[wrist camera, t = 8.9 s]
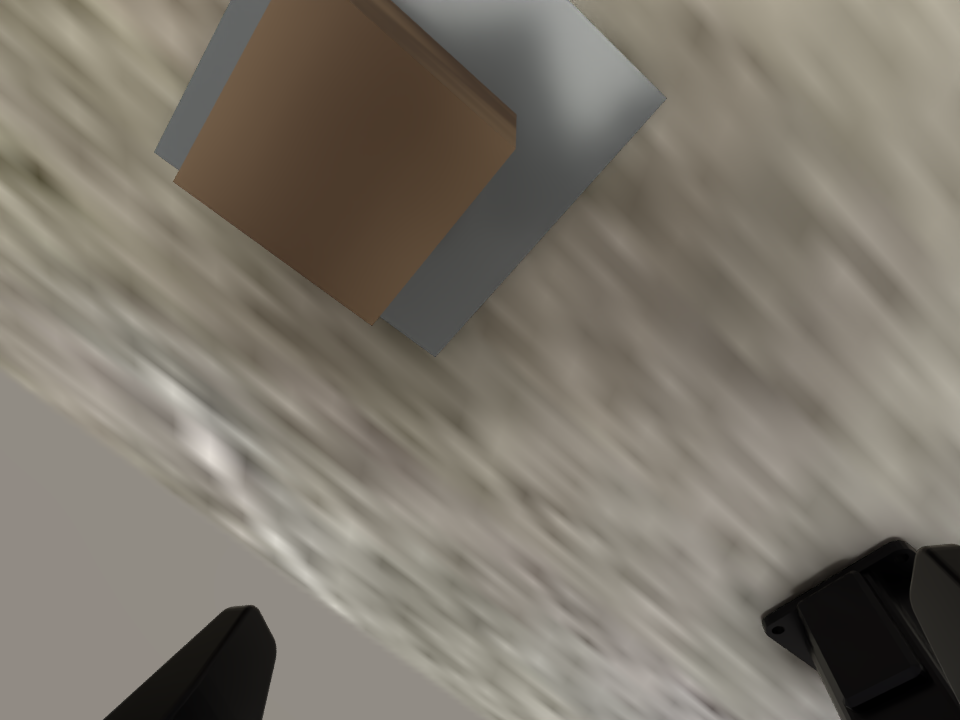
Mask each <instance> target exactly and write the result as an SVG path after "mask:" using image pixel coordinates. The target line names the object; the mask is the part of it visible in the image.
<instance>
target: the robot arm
mask: <svg viewBox="0 0 960 720" xmlns="http://www.w3.org/2000/svg"><path fill="white" fill-rule="evenodd" d="M762 626H763V628H764V630H765V633H766V634H767V635H768V636H769V637H770V638H771V639H773V640H774V641H776V642H777V643H779V644H780V645H781V646H783V647H784V648H786V649H787V650H788V651H790V652H791V653H793V654H794V655H796V656H797V657H798V658H800V659H801V660H803V661H804V662H806V663H807V664H808V665H810V666H811V667H813V668H814V669H815V670H817V671H818V673H819V675H820V677H821V679H822V681H823V683H824V685H825V687H826V689H827V691H828V694H829V696H830V698H831V700H832V702H833V704H834V706H835V708H836V710H837V712H838V714H839V716H840V719H841V720H960V546H959V545H955V544H944V545H933V546H924V547H921V548H920V549H919V550H918V551H916V550H915V549H914V548H913V547H911V546H910V545H909V544H908V543H906V542H904V541H893V542H890V543H888V544H886V545H885V546H883V547H881V548H880V549H878V550H876V551H875V552H873V553H871V554H870V555H868V556H866V557H865V558H863V559H861V560H860V561H858V562H856V563H855V564H853V565H851V566H850V567H848V568H846V569H845V570H843V571H841V572H840V573H838V574H836V575H835V576H833V577H831V578H830V579H828V580H826V581H825V582H823V583H821V584H819V585H818V586H816V587H814V588H813V589H811V590H809V591H808V592H806V593H804V594H803V595H801V596H799V597H798V598H796V599H794V600H793V601H791V602H789V603H788V604H786V605H784V606H783V607H781V608H779V609H778V610H776V611H774V612H773V613H771V614H769V615H768V616H766V617H765V618H764V619H763V621H762ZM275 660H276V643H275V640H274V637H273V635H272V634H271V632H270V630H269V628H268V626H267V624H266V622H265V620H264V618H263V616H262V615H261V613H260V611H259V609H258V608H257V607H255V606H253V605H245V606H234V607H229V608H227V609H225V610H224V611H223V612H221V613H220V614H219V615H218V616H217V617H216V618H215V619H213V620H212V621H211V622H210V623H209V624H208V625H207V626H206V627H205V628H204V629H202V631H200V632H199V633H198V634H197V635H196V636H195V637H194V638H193V639H191V640H190V641H189V642H188V643H187V644H186V645H185V646H184V647H183V648H182V649H180V650H179V651H178V652H177V653H176V654H175V655H174V656H173V657H172V658H170V660H168V661H167V662H166V663H165V664H164V665H163V666H162V667H161V668H159V669H158V670H157V672H155V673H154V674H153V675H152V676H151V677H150V678H149V679H147V680H146V681H145V682H144V683H143V684H142V685H141V686H140V687H139V688H137V689H136V690H135V691H134V692H133V693H132V694H131V695H130V696H129V697H127V698H126V699H125V700H124V701H123V702H122V703H121V704H120V705H119V706H118V707H116V708H115V709H114V710H113V711H112V712H111V713H110V714H109V715H108V716H107V717H105V718H104V719H103V720H262V718H263V714H264V709H265V705H266V700H267V696H268V691H269V686H270V682H271V678H272V673H273V669H274V664H275Z"/></svg>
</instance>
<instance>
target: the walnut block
mask: <svg viewBox="0 0 960 720" xmlns="http://www.w3.org/2000/svg"><path fill="white" fill-rule="evenodd" d="M516 119H517V114H515V113H514V112H513V111H512V110H511V109H510V108H509V107H508V106H507V105H506V104H504V103H503V102H502V101H501V100H500V99H499V98H498V97H497V96H496V95H495V94H493V93H492V92H491V91H490V90H489V89H488V88H487V87H486V86H485V85H484V84H482V83H481V82H480V81H479V80H478V79H477V78H476V77H475V76H474V75H473V74H471V73H470V72H469V71H468V70H467V69H466V68H465V67H464V66H463V65H462V64H460V63H459V62H458V61H457V60H456V59H455V58H454V57H453V56H452V55H451V54H449V53H448V52H447V51H446V50H445V49H444V48H443V47H442V46H441V45H440V44H439V43H437V42H436V41H435V40H434V39H433V38H432V37H431V36H430V35H429V34H428V33H426V32H425V31H424V30H423V29H422V28H421V27H420V26H419V25H418V24H417V23H415V22H414V21H413V20H412V19H411V18H410V17H409V16H408V15H407V14H406V13H404V12H403V11H402V10H401V9H400V8H399V7H398V6H397V5H396V4H395V3H393V2H392V1H391V0H271V1H270V3H269V5H268V7H267V9H266V10H265V12H264V14H263V16H262V18H261V20H260V21H259V23H258V25H257V27H256V29H255V31H254V33H253V34H252V36H251V38H250V40H249V42H248V44H247V46H246V47H245V49H244V51H243V53H242V55H241V57H240V59H239V60H238V62H237V64H236V66H235V68H234V70H233V72H232V73H231V75H230V77H229V79H228V81H227V83H226V84H225V86H224V88H223V90H222V92H221V94H220V96H219V97H218V99H217V101H216V103H215V105H214V107H213V109H212V110H211V112H210V114H209V116H208V118H207V120H206V122H205V123H204V125H203V127H202V129H201V131H200V133H199V134H198V136H197V138H196V140H195V142H194V144H193V146H192V147H191V149H190V151H189V153H188V155H187V157H186V159H185V160H184V162H183V164H182V166H181V168H180V170H179V172H178V173H177V175H176V177H175V179H174V181H173V182H174V183H176V184H177V185H178V186H180V187H181V188H182V189H184V190H185V191H187V192H188V193H189V194H191V195H192V196H193V197H195V198H196V199H198V200H199V201H200V202H202V203H203V204H205V205H206V206H207V207H209V208H210V209H211V210H213V211H214V212H216V213H217V214H218V215H220V216H221V217H222V218H224V219H225V220H227V221H228V222H229V223H231V224H232V225H233V226H235V227H236V228H238V229H239V230H240V231H242V232H243V233H245V234H246V235H247V236H249V237H250V238H251V239H253V240H254V241H256V242H257V243H258V244H260V245H261V246H262V247H264V248H265V249H267V250H268V251H269V252H271V253H272V254H273V255H275V256H276V257H278V258H279V259H280V260H282V261H283V262H284V263H286V264H287V265H289V266H290V267H291V268H293V269H294V270H296V271H297V272H298V273H300V274H301V275H302V276H304V277H305V278H307V279H308V280H309V281H311V282H312V283H313V284H315V285H316V286H318V287H319V288H320V289H322V290H323V291H324V292H326V293H327V294H329V295H330V296H331V297H333V298H334V299H335V300H337V301H338V302H340V303H341V304H342V305H344V306H345V307H347V308H348V309H349V310H351V311H352V312H353V313H355V314H356V315H358V316H359V317H360V318H362V319H363V320H364V321H366V322H367V323H369V324H370V325H371V326H372V325H373V324H374V323H375V322H376V320H377V319H378V318H379V317H380V315H381V314H382V313H383V312H384V310H385V309H386V308H387V307H388V306H389V304H390V303H391V302H392V301H393V299H394V298H395V297H396V296H397V294H398V293H399V292H400V291H401V290H402V288H403V287H404V286H405V285H406V283H407V282H408V281H409V280H410V278H411V277H412V276H413V275H414V274H415V272H416V271H417V270H418V269H419V267H420V266H421V265H422V264H423V262H424V261H425V260H426V259H427V257H428V256H429V255H430V254H431V253H432V251H433V250H434V249H435V248H436V246H437V245H438V244H439V243H440V241H441V240H442V239H443V238H444V237H445V235H446V234H447V233H448V232H449V230H450V229H451V228H452V227H453V225H454V224H455V223H456V222H457V221H458V219H459V218H460V217H461V216H462V214H463V213H464V212H465V211H466V209H467V208H468V207H469V206H470V205H471V203H472V202H473V201H474V200H475V198H476V197H477V196H478V195H479V193H480V192H481V191H482V190H483V189H484V187H485V186H486V185H487V184H488V182H489V181H490V180H491V179H492V177H493V176H494V175H495V174H496V173H497V171H498V170H499V169H500V168H501V166H502V165H503V164H504V163H505V161H506V160H507V159H508V158H509V156H510V155H511V154H512V153H513V152H514V150H515V149H516Z"/></svg>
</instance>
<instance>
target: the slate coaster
mask: <svg viewBox="0 0 960 720" xmlns="http://www.w3.org/2000/svg"><path fill="white" fill-rule="evenodd" d="M270 1H271V0H231V1H230V3H229V5H228V7H227V9H226V11H225V13H224V15H223V17H222V19H221V21H220V23H219V25H218V27H217V29H216V31H215V33H214V35H213V37H212V39H211V41H210V43H209V45H208V46H207V48H206V50H205V52H204V54H203V56H202V58H201V60H200V62H199V64H198V66H197V68H196V70H195V72H194V74H193V76H192V78H191V80H190V82H189V84H188V86H187V88H186V90H185V92H184V94H183V96H182V98H181V100H180V102H179V104H178V106H177V108H176V110H175V112H174V114H173V116H172V118H171V120H170V122H169V124H168V126H167V128H166V130H165V132H164V134H163V136H162V137H161V139H160V141H159V143H158V145H157V147H156V149H155V151H154V153H156V154H157V155H159V156H160V157H161V158H163V159H164V160H165V161H167V162H168V163H169V164H171V165H172V166H174V167H175V168H176V169H178V170H180V168H181V166H182V164H183V162H184V160H185V159H186V157H187V155H188V153H189V151H190V149H191V147H192V146H193V144H194V142H195V140H196V138H197V136H198V134H199V133H200V131H201V129H202V127H203V125H204V123H205V122H206V120H207V118H208V116H209V114H210V112H211V110H212V109H213V107H214V105H215V103H216V101H217V99H218V97H219V96H220V94H221V92H222V90H223V88H224V86H225V84H226V83H227V81H228V79H229V77H230V75H231V73H232V72H233V70H234V68H235V66H236V64H237V62H238V60H239V59H240V57H241V55H242V53H243V51H244V49H245V47H246V46H247V44H248V42H249V40H250V38H251V36H252V34H253V33H254V31H255V29H256V27H257V25H258V23H259V21H260V20H261V18H262V16H263V14H264V12H265V10H266V9H267V7H268V5H269V3H270ZM391 1H392V2H393V3H395V4H396V5H397V6H398V7H399V8H400V9H401V10H402V11H403V12H404V13H406V14H407V15H408V16H409V17H410V18H411V19H412V20H413V21H414V22H415V23H417V24H418V25H419V26H420V27H421V28H422V29H423V30H424V31H425V32H426V33H428V34H429V35H430V36H431V37H432V38H433V39H434V40H435V41H436V42H437V43H439V44H440V45H441V46H442V47H443V48H444V49H445V50H446V51H447V52H448V53H449V54H451V55H452V56H453V57H454V58H455V59H456V60H457V61H458V62H459V63H460V64H462V65H463V66H464V67H465V68H466V69H467V70H468V71H469V72H470V73H471V74H473V75H474V76H475V77H476V78H477V79H478V80H479V81H480V82H481V83H482V84H484V85H485V86H486V87H487V88H488V89H489V90H490V91H491V92H492V93H493V94H495V95H496V96H497V97H498V98H499V99H500V100H501V101H502V102H503V103H504V104H506V105H507V106H508V107H509V108H510V109H511V110H512V111H513V112H514V113H515V114H517V119H516V149H515V150H514V152H513V153H512V154H511V155H510V156H509V158H508V159H507V160H506V161H505V163H504V164H503V165H502V166H501V168H500V169H499V170H498V171H497V173H496V174H495V175H494V176H493V177H492V179H491V180H490V181H489V182H488V184H487V185H486V186H485V187H484V189H483V190H482V191H481V192H480V193H479V195H478V196H477V197H476V198H475V200H474V201H473V202H472V203H471V205H470V206H469V207H468V208H467V209H466V211H465V212H464V213H463V214H462V216H461V217H460V218H459V219H458V221H457V222H456V223H455V224H454V225H453V227H452V228H451V229H450V230H449V232H448V233H447V234H446V235H445V237H444V238H443V239H442V240H441V241H440V243H439V244H438V245H437V246H436V248H435V249H434V250H433V251H432V253H431V254H430V255H429V256H428V257H427V259H426V260H425V261H424V262H423V264H422V265H421V266H420V267H419V269H418V270H417V271H416V272H415V274H414V275H413V276H412V277H411V278H410V280H409V281H408V282H407V283H406V285H405V286H404V287H403V288H402V290H401V291H400V292H399V293H398V294H397V296H396V297H395V298H394V299H393V301H392V302H391V303H390V304H389V306H388V307H387V308H386V309H385V310H384V312H383V313H382V314H381V315H380V317H381V318H382V319H383V320H385V321H386V322H388V323H389V324H390V325H392V326H393V327H394V328H396V329H397V330H399V331H400V332H401V333H403V334H404V335H405V336H407V337H408V338H410V339H411V340H412V341H414V342H415V343H416V344H418V345H419V346H421V347H422V348H423V349H425V350H426V351H427V352H429V353H430V354H431V355H433V356H434V357H436V356H437V355H438V353H439V352H440V351H441V350H442V349H443V348H444V347H445V346H446V345H447V343H448V342H449V341H450V340H451V339H452V338H453V337H454V336H455V334H456V333H457V332H458V331H459V330H460V329H461V328H462V327H463V326H464V324H465V323H466V322H467V321H468V320H469V319H470V318H471V317H472V315H473V314H474V313H475V312H476V311H477V310H478V309H479V308H480V307H481V305H482V304H483V303H484V302H485V301H486V300H487V299H488V298H489V296H490V295H491V294H492V293H493V292H494V291H495V290H496V289H497V288H498V286H499V285H500V284H501V283H502V282H503V281H504V280H505V279H506V277H507V276H508V275H509V274H510V273H511V272H512V271H513V270H514V269H515V267H516V266H517V265H518V264H519V263H520V262H521V261H522V260H523V258H524V257H525V256H526V255H527V254H528V253H529V252H530V251H531V250H532V248H533V247H534V246H535V245H536V244H537V243H538V242H539V241H540V239H541V238H542V237H543V236H544V235H545V234H546V233H547V232H548V231H549V229H550V228H551V227H552V226H553V225H554V224H555V223H556V222H557V221H558V219H559V218H560V217H561V216H562V215H563V214H564V213H565V212H566V210H567V209H568V208H569V207H570V206H571V205H572V204H573V203H574V202H575V200H576V199H577V198H578V197H579V196H580V195H581V194H582V193H583V191H584V190H585V189H586V188H587V187H588V186H589V185H590V184H591V183H592V181H593V180H594V179H595V178H596V177H597V176H598V175H599V174H600V172H601V171H602V170H603V169H604V168H605V167H606V166H607V165H608V164H609V162H610V161H611V160H612V159H613V158H614V157H615V156H616V155H617V153H618V152H619V151H620V150H621V149H622V148H623V147H624V146H625V145H626V143H627V142H628V141H629V140H630V139H631V138H632V137H633V136H634V134H635V133H636V132H637V131H638V130H639V129H640V128H641V127H642V126H643V124H644V123H645V122H646V121H647V120H648V119H649V118H650V117H651V115H652V114H653V113H654V112H655V111H656V110H657V109H658V108H659V107H660V105H661V104H662V103H663V102H664V101H665V100H666V99H667V98H666V97H665V96H664V95H663V94H662V93H661V92H660V91H659V90H658V89H657V88H656V87H655V86H654V85H653V84H652V83H651V82H650V81H649V80H648V79H647V78H646V77H645V76H644V75H643V74H642V73H641V72H640V71H639V70H638V69H637V68H636V67H635V66H634V65H633V64H632V63H631V62H630V61H629V60H628V59H627V58H626V57H625V56H624V55H623V54H622V53H621V52H620V51H619V50H618V49H617V48H616V47H615V46H614V45H613V44H612V43H611V42H610V41H609V40H608V39H607V38H606V37H605V36H604V35H603V34H602V33H601V32H600V31H599V30H598V29H597V28H596V27H595V26H594V25H593V24H592V23H591V22H590V21H589V20H588V19H587V18H586V17H585V16H584V15H583V14H582V13H581V12H580V11H579V10H578V9H577V8H576V7H575V6H574V5H573V4H572V3H571V2H570V1H569V0H391Z"/></svg>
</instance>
